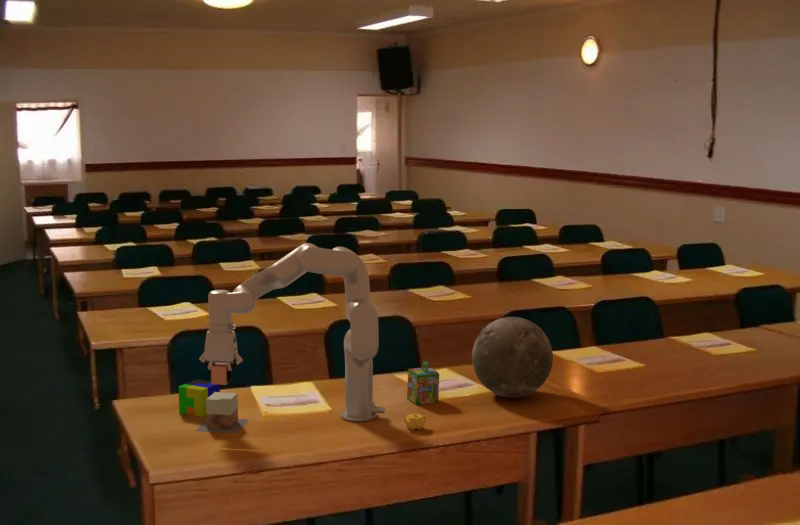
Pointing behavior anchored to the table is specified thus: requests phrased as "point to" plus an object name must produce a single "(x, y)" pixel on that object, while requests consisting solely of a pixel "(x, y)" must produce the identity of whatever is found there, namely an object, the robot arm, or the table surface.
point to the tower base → (222, 420)
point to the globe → (512, 357)
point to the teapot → (415, 421)
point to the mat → (233, 430)
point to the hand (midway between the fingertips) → (221, 380)
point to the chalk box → (423, 385)
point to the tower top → (222, 403)
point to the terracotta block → (219, 373)
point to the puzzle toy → (196, 397)
